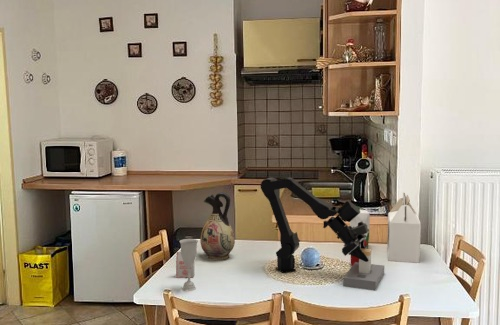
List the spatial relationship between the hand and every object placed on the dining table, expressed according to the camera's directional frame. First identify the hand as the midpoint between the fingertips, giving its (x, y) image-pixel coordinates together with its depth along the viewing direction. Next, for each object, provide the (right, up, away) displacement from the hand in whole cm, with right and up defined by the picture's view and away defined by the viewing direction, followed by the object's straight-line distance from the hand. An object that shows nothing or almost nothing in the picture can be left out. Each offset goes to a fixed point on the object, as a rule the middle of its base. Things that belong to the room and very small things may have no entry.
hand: (368, 259), depth 212 cm
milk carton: (+6, -3, +49) cm, 50 cm away
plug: (-1, -7, +1) cm, 7 cm away
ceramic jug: (-60, -5, +31) cm, 68 cm away
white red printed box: (-72, -8, +5) cm, 73 cm away
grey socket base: (-1, -8, +1) cm, 8 cm away
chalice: (-69, -9, -10) cm, 70 cm away
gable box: (+24, -5, +37) cm, 44 cm away
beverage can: (0, -6, +20) cm, 21 cm away
